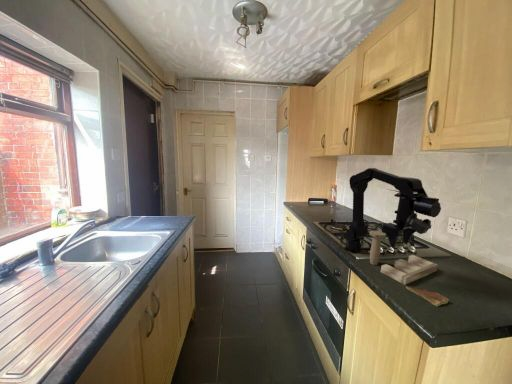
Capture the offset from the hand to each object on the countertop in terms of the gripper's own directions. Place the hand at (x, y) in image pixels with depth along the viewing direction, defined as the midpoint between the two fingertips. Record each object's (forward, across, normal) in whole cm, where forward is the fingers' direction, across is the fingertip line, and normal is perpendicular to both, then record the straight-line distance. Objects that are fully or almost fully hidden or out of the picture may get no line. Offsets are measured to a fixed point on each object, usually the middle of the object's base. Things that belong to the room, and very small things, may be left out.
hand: (399, 245), depth 89 cm
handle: (+13, 0, +9) cm, 16 cm away
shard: (+13, -6, -15) cm, 21 cm away
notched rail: (+13, +7, -2) cm, 15 cm away
